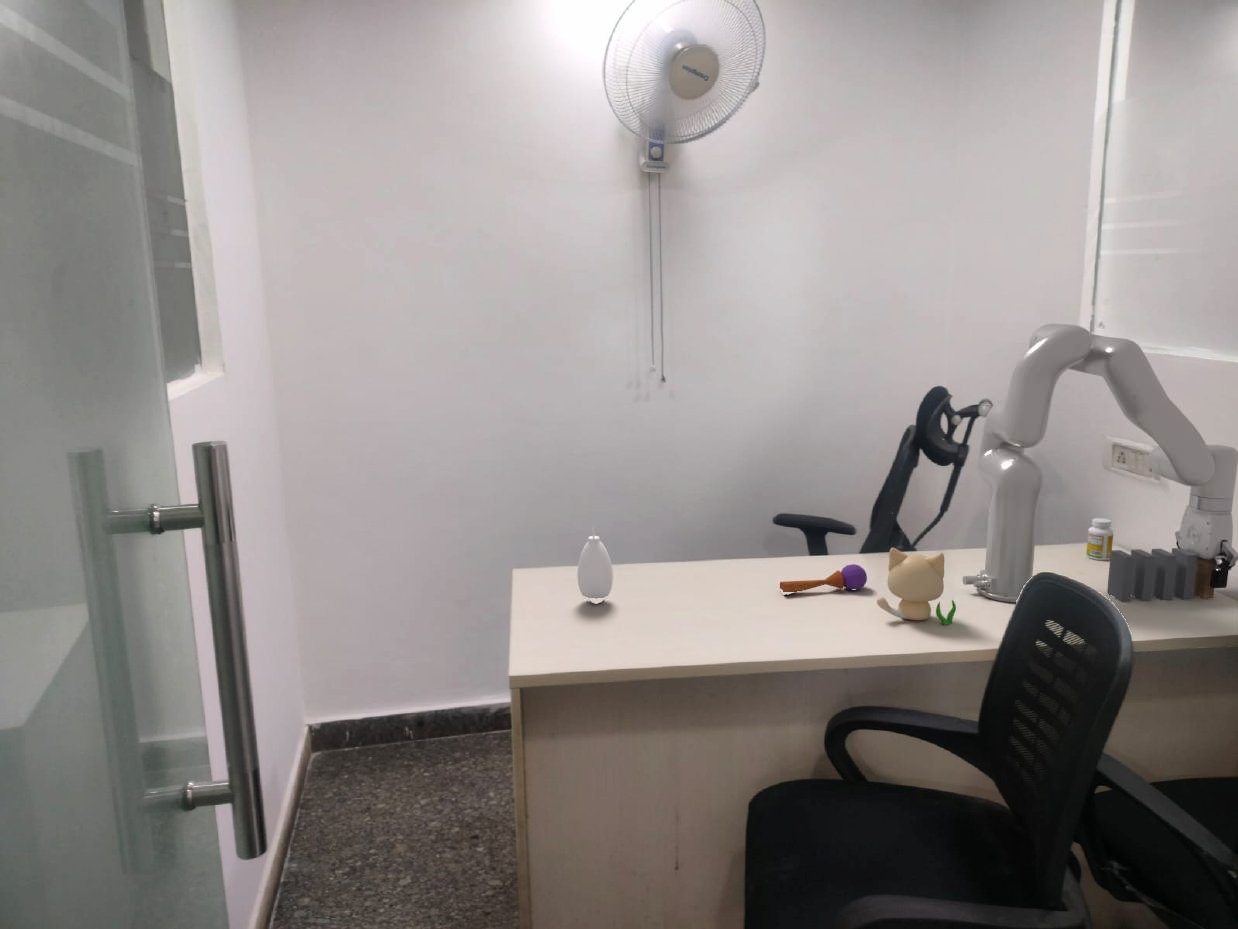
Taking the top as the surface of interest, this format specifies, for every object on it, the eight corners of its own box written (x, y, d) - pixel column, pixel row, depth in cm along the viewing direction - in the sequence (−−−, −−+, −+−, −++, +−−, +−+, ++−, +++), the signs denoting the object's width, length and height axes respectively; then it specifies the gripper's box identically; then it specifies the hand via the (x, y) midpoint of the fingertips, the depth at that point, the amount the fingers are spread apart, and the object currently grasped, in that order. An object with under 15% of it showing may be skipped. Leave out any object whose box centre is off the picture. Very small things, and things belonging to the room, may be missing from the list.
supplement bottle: (1104, 554, 207) (1108, 517, 205) (1115, 561, 202) (1118, 523, 200) (1082, 554, 208) (1085, 517, 206) (1092, 561, 202) (1095, 523, 200)
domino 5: (1203, 599, 176) (1209, 554, 174) (1187, 590, 181) (1192, 547, 179) (1213, 598, 176) (1218, 554, 174) (1196, 590, 181) (1201, 547, 179)
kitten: (957, 614, 171) (960, 545, 168) (953, 632, 162) (956, 560, 160) (883, 605, 178) (885, 538, 175) (875, 621, 169) (877, 551, 166)
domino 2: (1141, 601, 176) (1146, 556, 174) (1127, 593, 180) (1131, 549, 178) (1151, 601, 176) (1155, 556, 174) (1136, 592, 180) (1140, 549, 179)
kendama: (776, 574, 188) (858, 561, 191) (779, 599, 188) (861, 586, 191) (785, 577, 182) (869, 564, 185) (788, 604, 182) (872, 590, 185)
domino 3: (1162, 600, 176) (1167, 556, 174) (1147, 592, 181) (1151, 549, 179) (1171, 600, 176) (1176, 555, 174) (1156, 592, 181) (1160, 548, 179)
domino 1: (1121, 602, 175) (1125, 557, 174) (1106, 594, 180) (1111, 550, 178) (1130, 601, 176) (1134, 557, 174) (1115, 593, 180) (1120, 550, 178)
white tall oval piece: (585, 595, 189) (582, 520, 185) (617, 598, 187) (615, 521, 183) (574, 607, 181) (570, 529, 178) (607, 610, 179) (605, 531, 176)
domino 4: (1183, 599, 176) (1188, 555, 174) (1167, 591, 181) (1172, 548, 179) (1192, 599, 176) (1197, 554, 174) (1176, 591, 181) (1181, 547, 179)
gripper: (1165, 494, 183) (1157, 567, 186) (1223, 514, 166) (1213, 594, 169) (1198, 493, 183) (1190, 566, 186) (1260, 513, 166) (1249, 593, 169)
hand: (1201, 579), depth 178 cm, fingers open, 9 cm apart
